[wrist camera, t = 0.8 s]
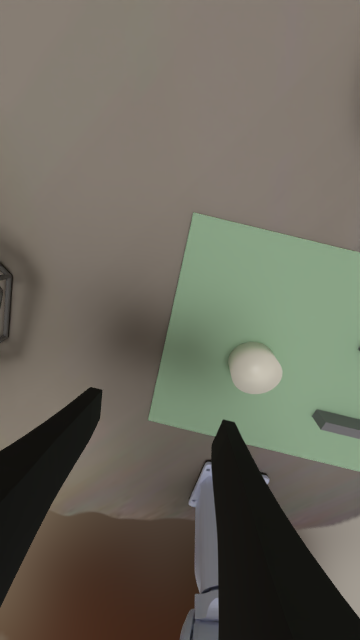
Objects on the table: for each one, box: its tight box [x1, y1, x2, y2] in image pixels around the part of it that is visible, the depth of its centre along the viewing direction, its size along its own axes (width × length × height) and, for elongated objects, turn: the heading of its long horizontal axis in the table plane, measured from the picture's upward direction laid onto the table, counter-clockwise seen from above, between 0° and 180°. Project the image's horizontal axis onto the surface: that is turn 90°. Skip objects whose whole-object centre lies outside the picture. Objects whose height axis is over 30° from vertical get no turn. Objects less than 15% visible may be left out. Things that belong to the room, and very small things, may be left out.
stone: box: [228, 342, 283, 394], centre depth 16 cm, size 4×4×2 cm
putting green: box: [148, 212, 360, 471], centre depth 18 cm, size 21×26×1 cm
